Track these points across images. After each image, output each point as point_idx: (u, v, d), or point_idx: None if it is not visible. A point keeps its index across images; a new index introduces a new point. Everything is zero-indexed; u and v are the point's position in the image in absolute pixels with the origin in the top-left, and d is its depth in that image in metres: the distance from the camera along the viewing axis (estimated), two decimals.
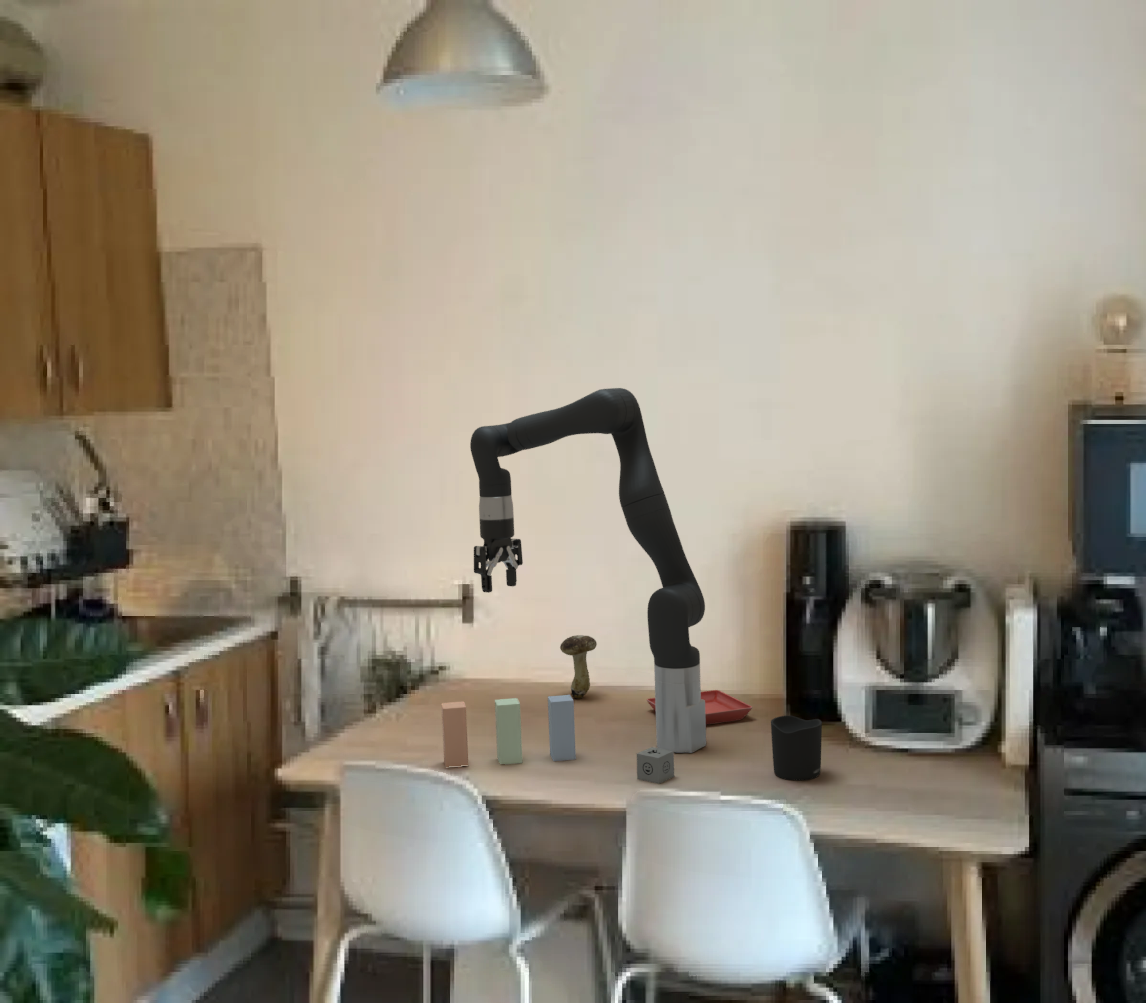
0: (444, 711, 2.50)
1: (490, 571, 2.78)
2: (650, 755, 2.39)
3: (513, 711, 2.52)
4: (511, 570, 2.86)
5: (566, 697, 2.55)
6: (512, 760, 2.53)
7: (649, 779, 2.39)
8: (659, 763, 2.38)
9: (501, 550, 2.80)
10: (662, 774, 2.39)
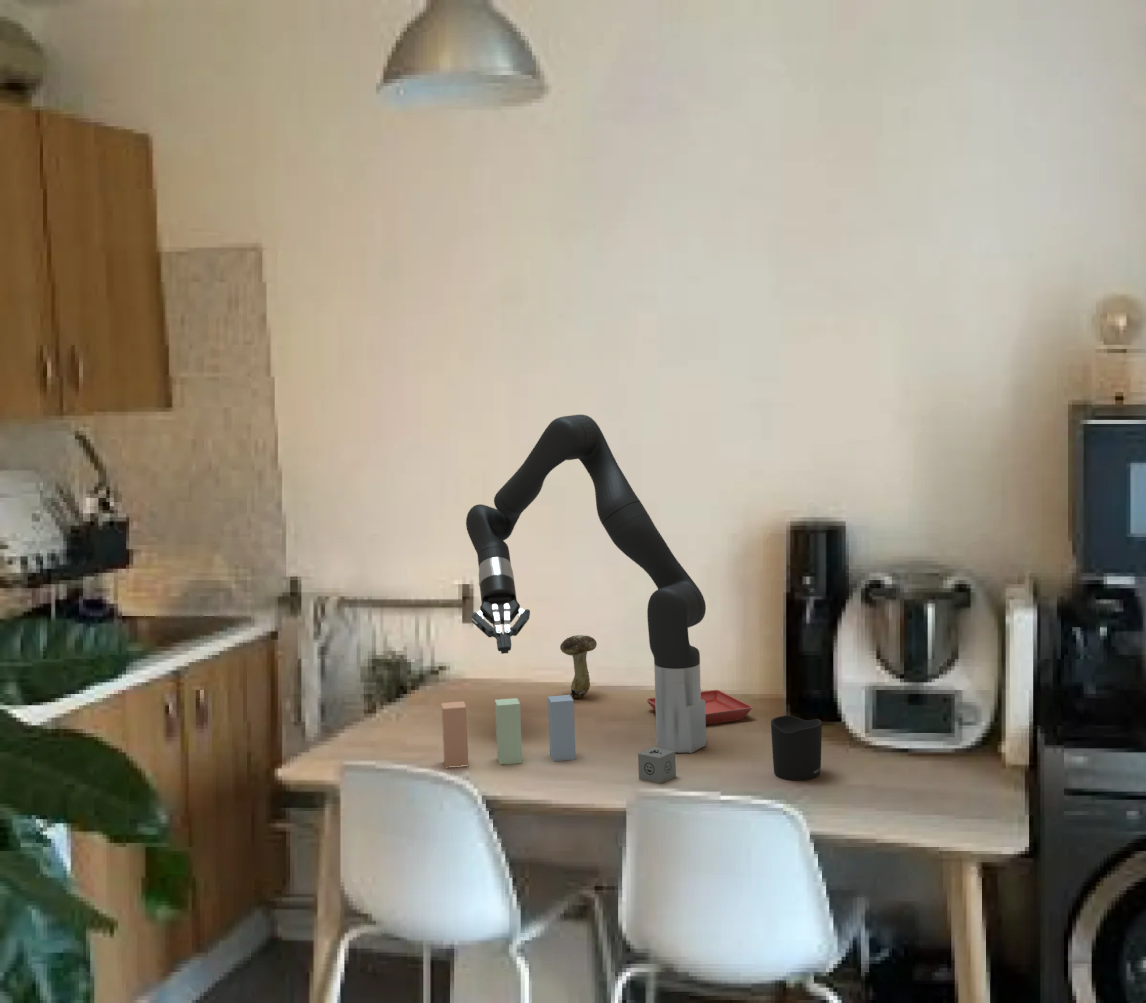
0: (444, 711, 2.50)
1: (498, 629, 2.67)
2: (652, 755, 2.39)
3: (513, 711, 2.52)
4: None
5: (566, 697, 2.55)
6: (512, 760, 2.53)
7: (651, 779, 2.39)
8: (661, 763, 2.38)
9: (495, 606, 2.70)
10: (664, 774, 2.39)
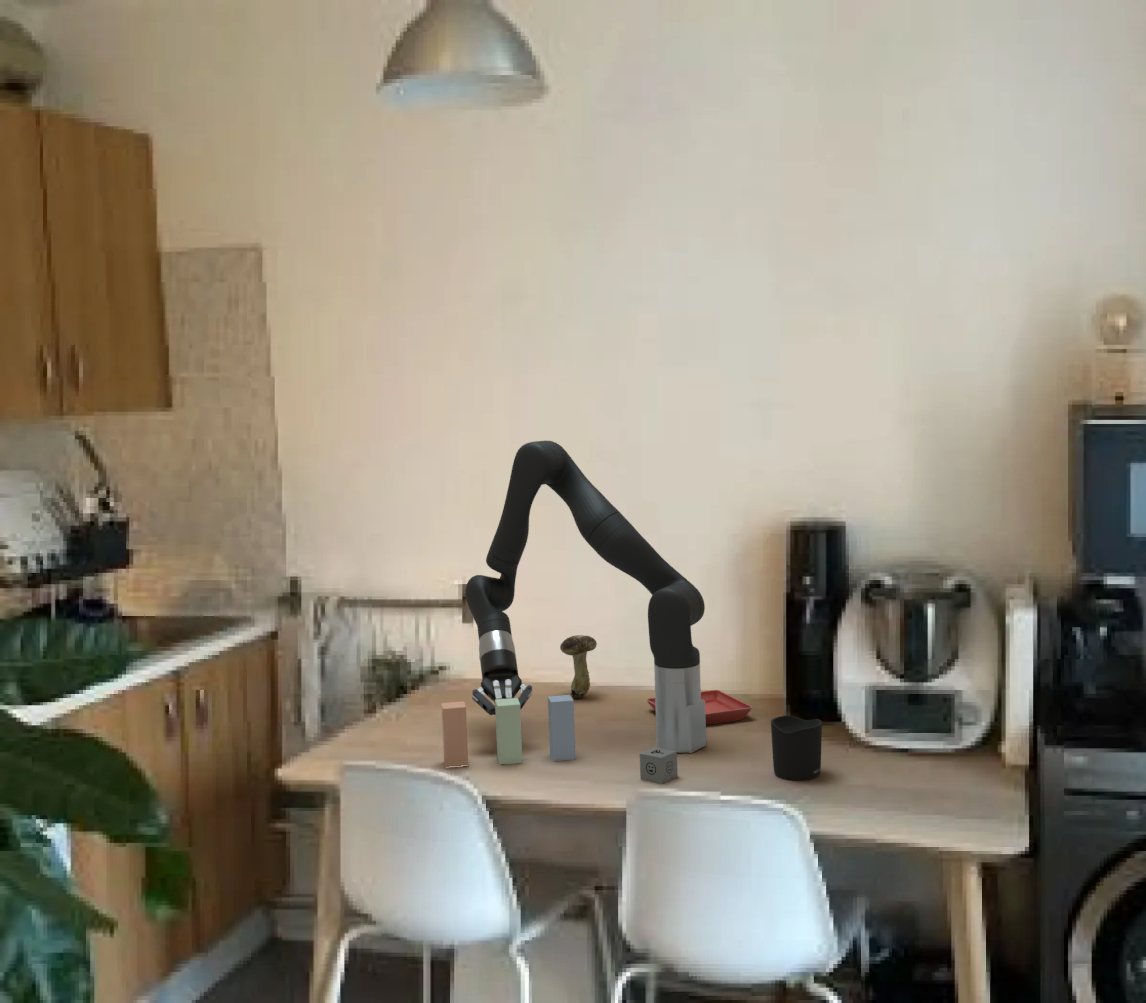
0: (444, 711, 2.50)
1: None
2: (653, 755, 2.39)
3: (513, 712, 2.52)
4: None
5: (566, 697, 2.55)
6: (512, 760, 2.53)
7: (652, 779, 2.39)
8: (662, 763, 2.38)
9: (496, 682, 2.62)
10: (665, 774, 2.39)
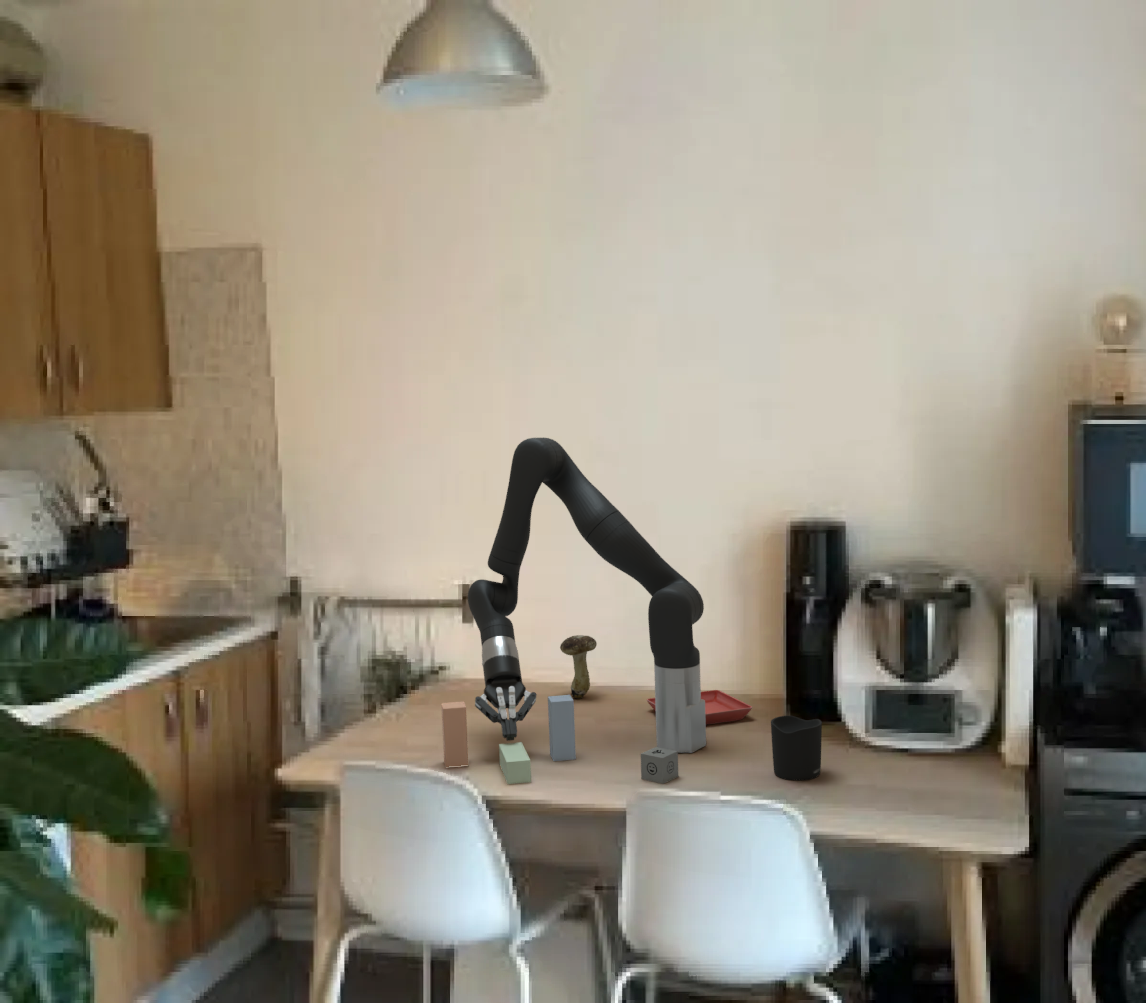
0: (444, 711, 2.50)
1: (503, 714, 2.54)
2: (654, 755, 2.39)
3: None
4: None
5: (566, 697, 2.55)
6: None
7: (653, 779, 2.39)
8: (663, 763, 2.38)
9: (499, 689, 2.56)
10: (666, 774, 2.39)
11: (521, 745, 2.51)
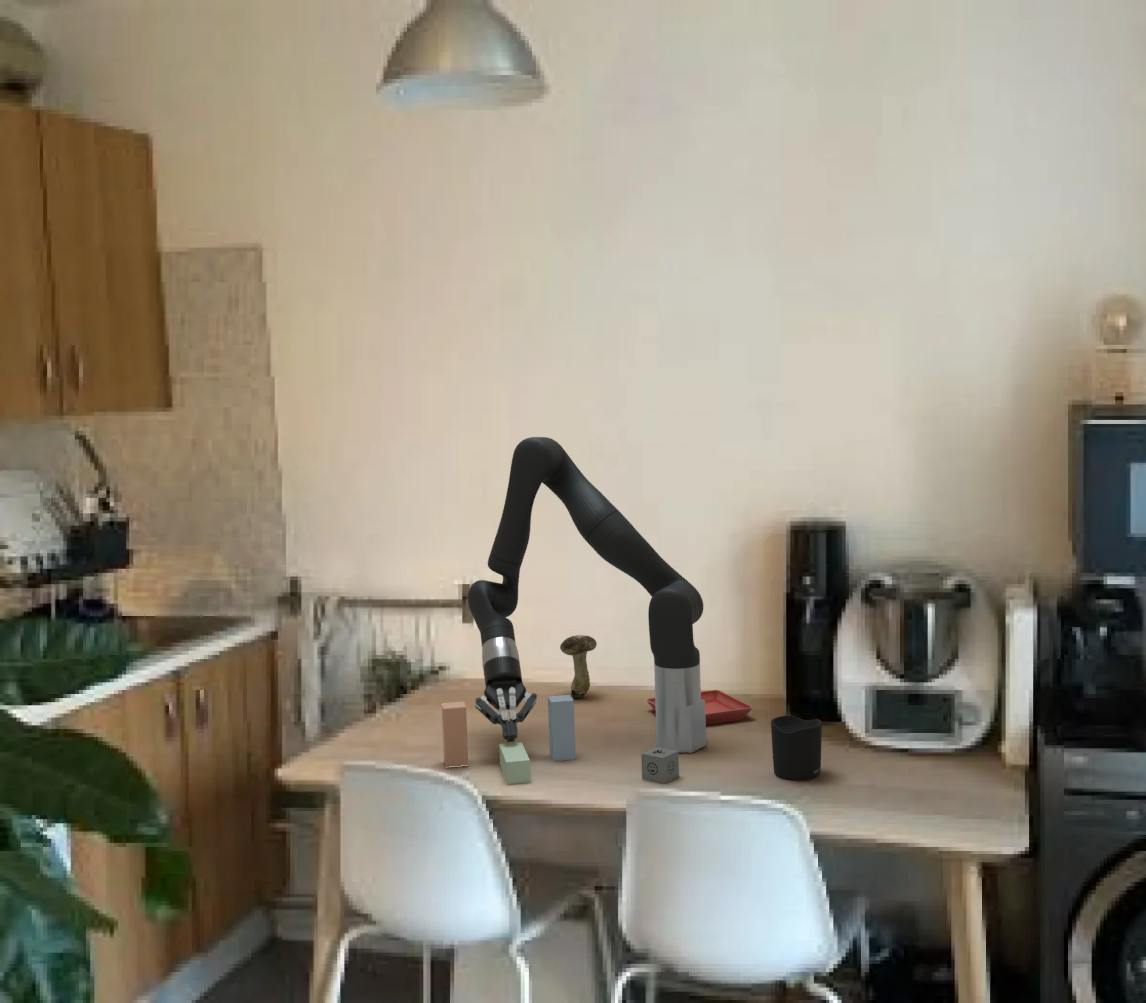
0: (444, 711, 2.50)
1: (504, 716, 2.52)
2: (655, 755, 2.39)
3: None
4: None
5: (566, 697, 2.55)
6: None
7: (654, 779, 2.39)
8: (664, 763, 2.38)
9: (499, 690, 2.55)
10: (667, 774, 2.39)
11: (521, 745, 2.51)
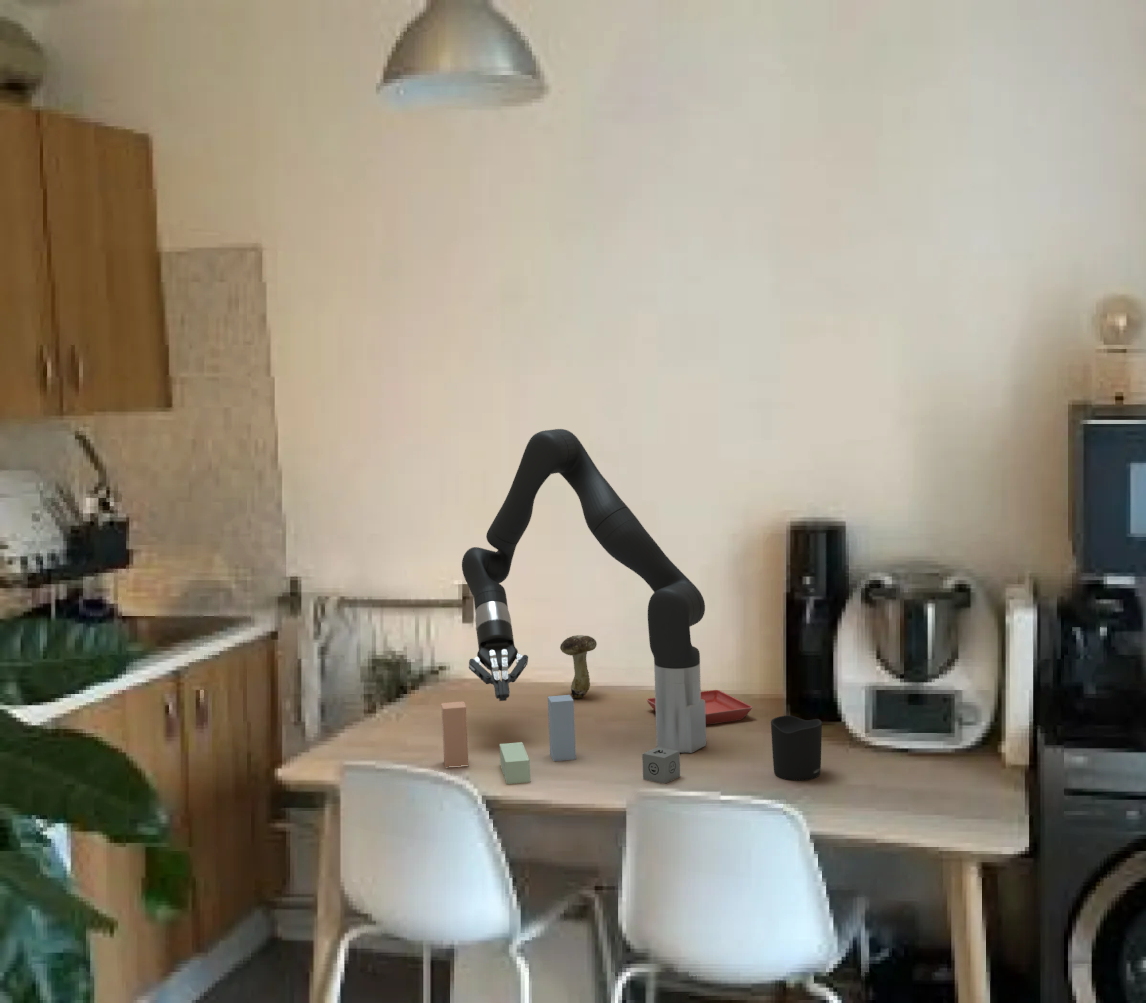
0: (444, 711, 2.50)
1: (496, 676, 2.63)
2: (656, 755, 2.39)
3: None
4: None
5: (566, 697, 2.55)
6: None
7: (655, 779, 2.39)
8: (665, 763, 2.38)
9: (492, 652, 2.65)
10: (668, 774, 2.39)
11: (521, 745, 2.51)
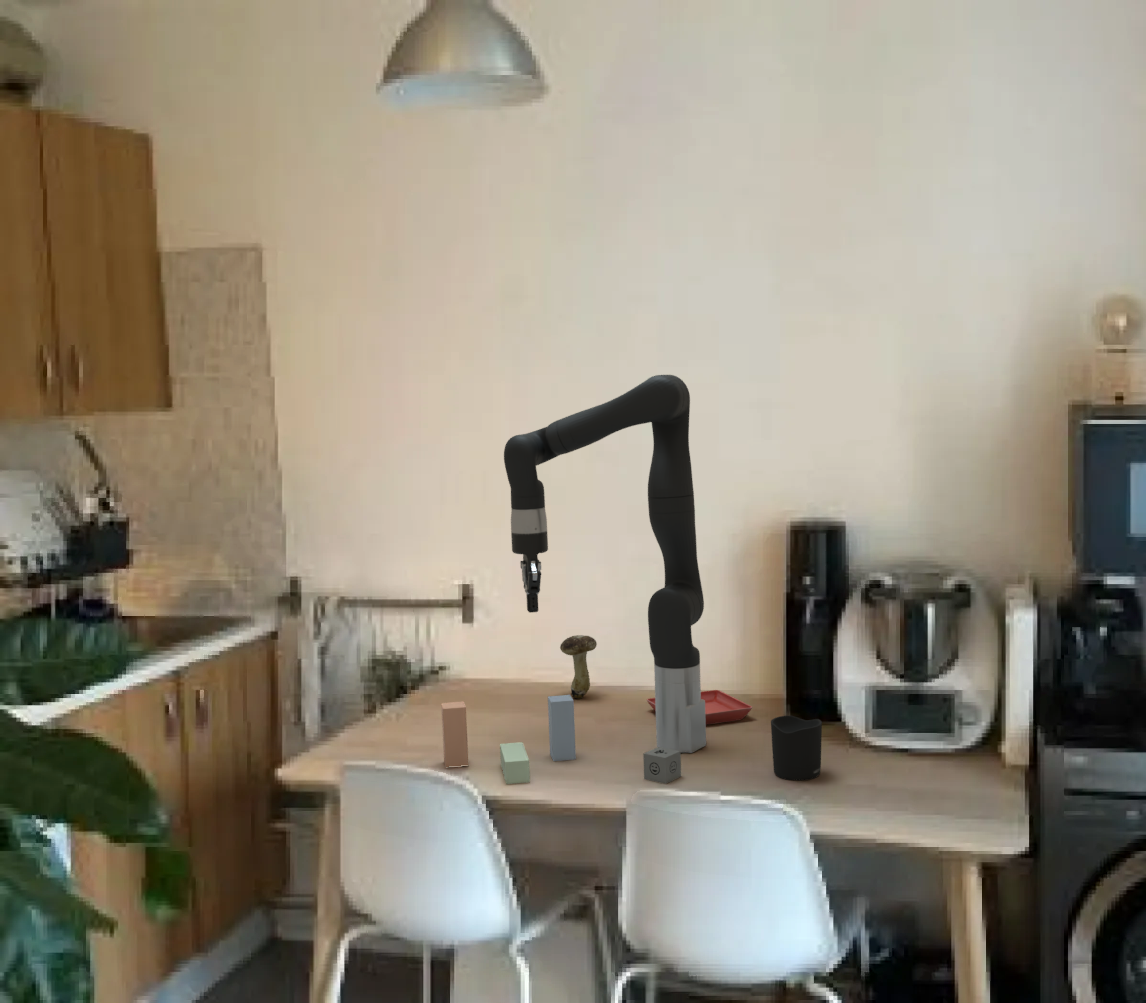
0: (444, 711, 2.50)
1: None
2: (657, 755, 2.39)
3: None
4: None
5: (566, 697, 2.55)
6: None
7: (656, 779, 2.39)
8: (666, 763, 2.38)
9: (540, 563, 2.66)
10: (669, 774, 2.39)
11: (522, 745, 2.51)
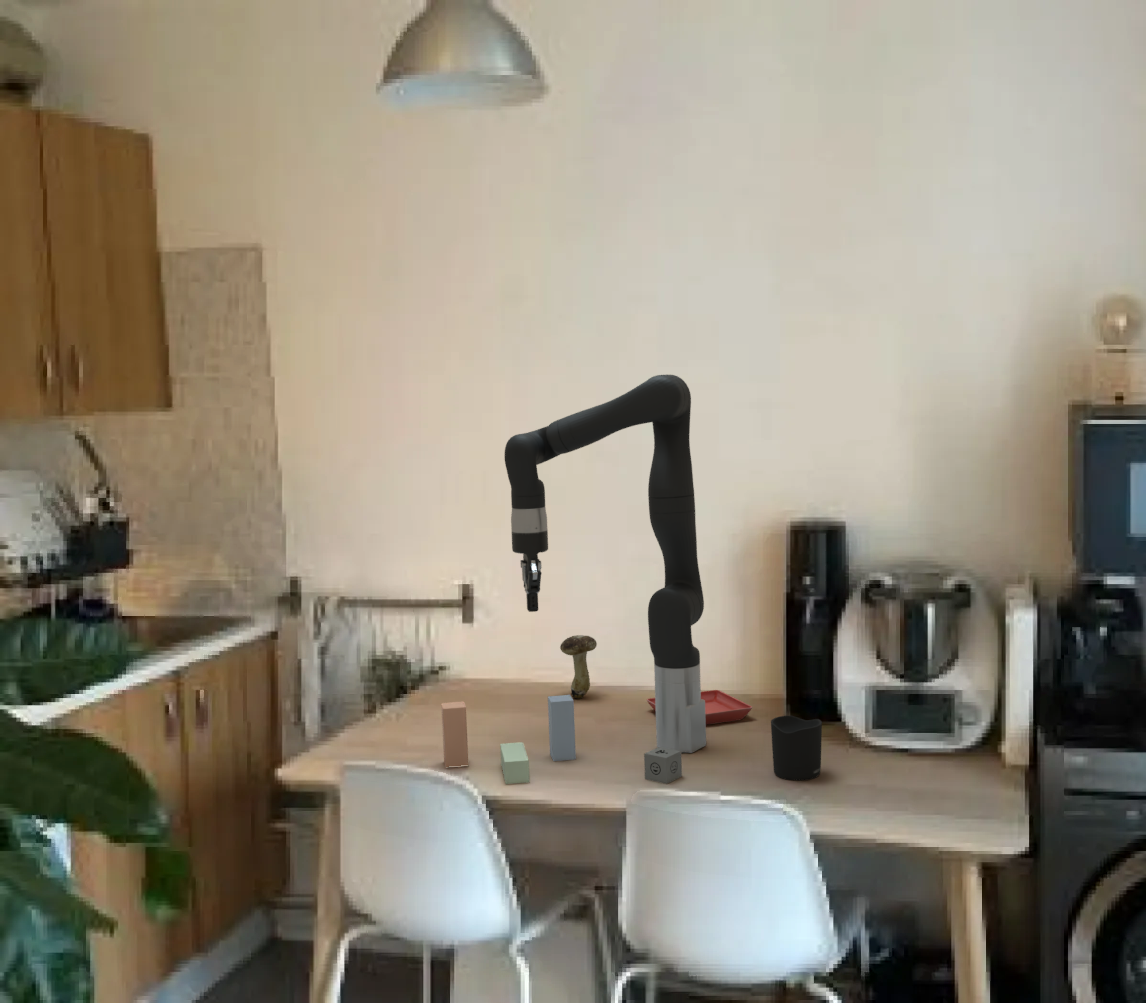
0: (444, 711, 2.50)
1: None
2: (658, 755, 2.39)
3: None
4: None
5: (566, 697, 2.55)
6: None
7: (657, 779, 2.39)
8: (667, 763, 2.38)
9: (540, 563, 2.66)
10: (670, 774, 2.39)
11: (522, 745, 2.51)
